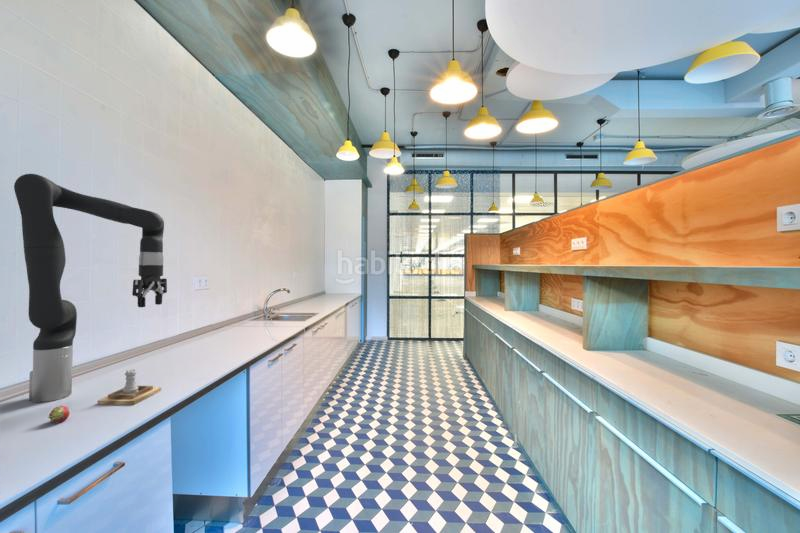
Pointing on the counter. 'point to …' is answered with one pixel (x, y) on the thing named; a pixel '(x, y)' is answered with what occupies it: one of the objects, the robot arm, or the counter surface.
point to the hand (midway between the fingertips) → (150, 305)
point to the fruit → (59, 414)
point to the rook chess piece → (130, 383)
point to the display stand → (130, 396)
